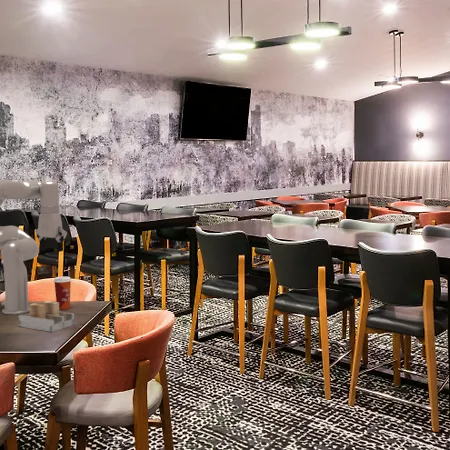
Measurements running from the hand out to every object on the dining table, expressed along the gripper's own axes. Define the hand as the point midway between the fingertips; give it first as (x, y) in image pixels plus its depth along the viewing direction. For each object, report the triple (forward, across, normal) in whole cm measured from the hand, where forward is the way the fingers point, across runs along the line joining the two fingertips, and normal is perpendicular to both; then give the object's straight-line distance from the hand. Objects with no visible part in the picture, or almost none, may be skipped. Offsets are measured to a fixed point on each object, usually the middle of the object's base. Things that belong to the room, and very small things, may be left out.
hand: (51, 250), depth 255 cm
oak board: (+28, +7, -16) cm, 33 cm away
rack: (+28, +9, -13) cm, 32 cm away
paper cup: (+28, -6, +12) cm, 32 cm away
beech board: (+28, +9, -10) cm, 31 cm away
